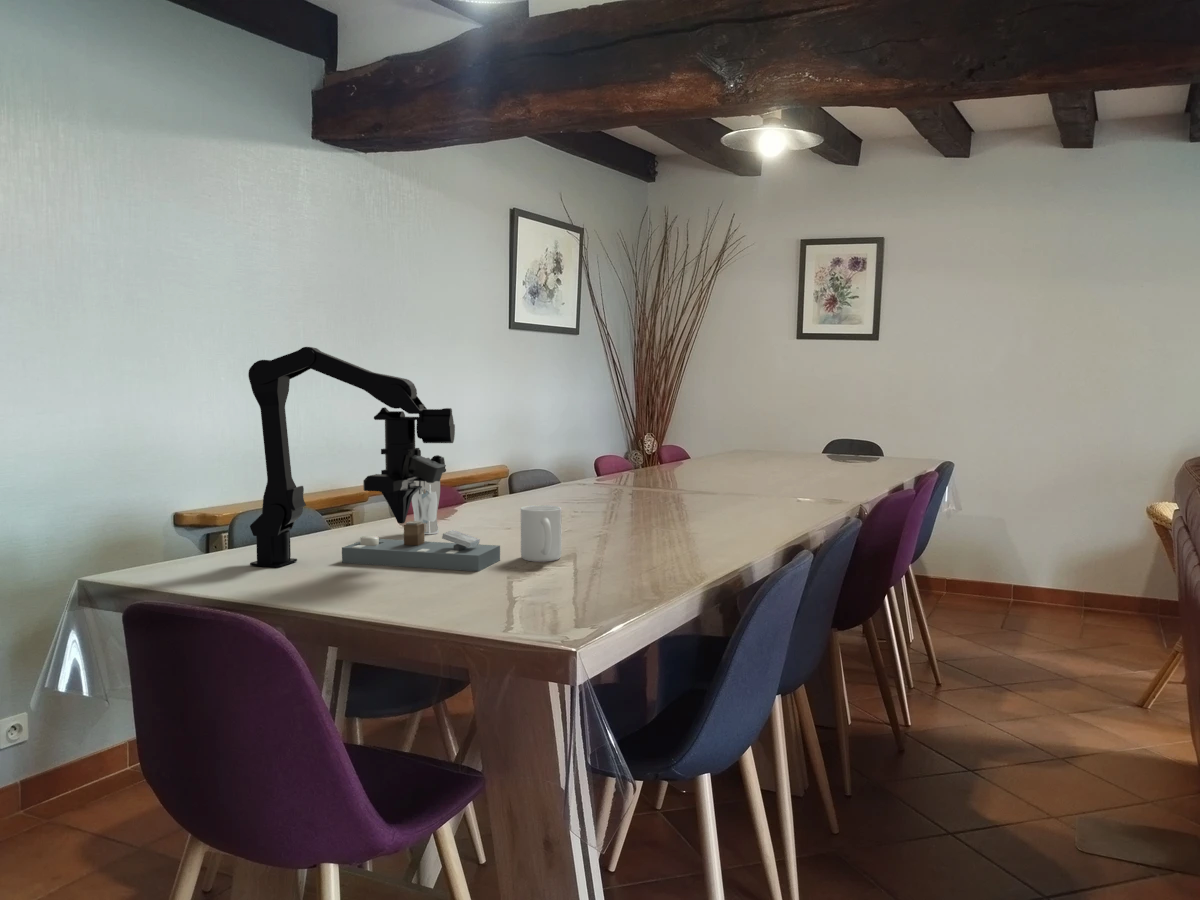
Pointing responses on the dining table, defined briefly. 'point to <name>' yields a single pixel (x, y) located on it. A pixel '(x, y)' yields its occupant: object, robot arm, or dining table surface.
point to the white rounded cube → (369, 540)
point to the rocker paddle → (460, 538)
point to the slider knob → (414, 533)
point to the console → (423, 555)
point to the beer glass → (427, 505)
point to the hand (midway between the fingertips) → (401, 523)
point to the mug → (541, 533)
